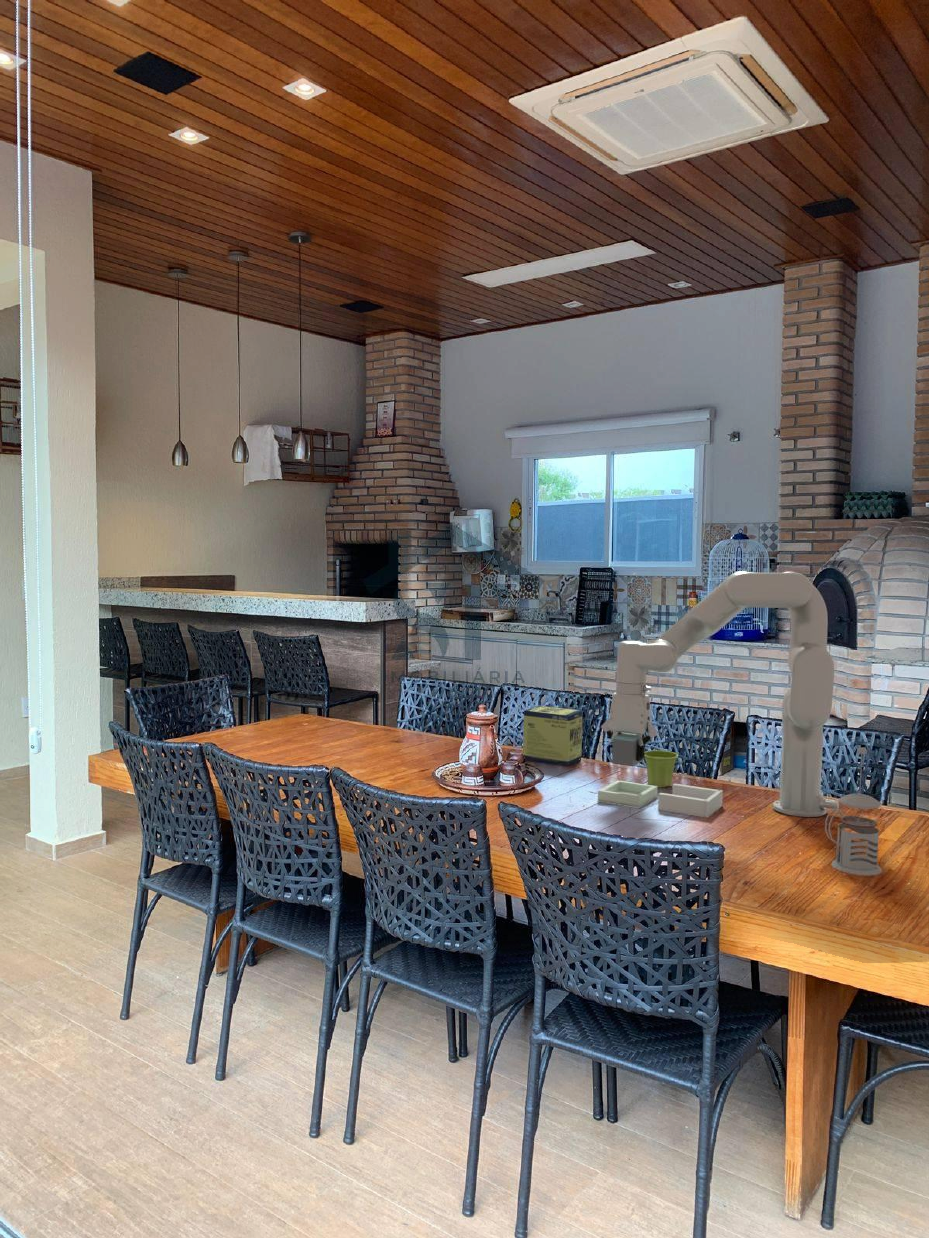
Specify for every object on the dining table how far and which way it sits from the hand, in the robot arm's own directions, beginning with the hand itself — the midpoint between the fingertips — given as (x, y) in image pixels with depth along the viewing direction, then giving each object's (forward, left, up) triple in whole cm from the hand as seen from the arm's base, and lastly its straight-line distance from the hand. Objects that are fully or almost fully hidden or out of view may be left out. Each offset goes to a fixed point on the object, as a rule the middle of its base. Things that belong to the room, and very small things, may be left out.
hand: (628, 757), depth 242 cm
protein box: (+36, -30, -11) cm, 48 cm away
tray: (0, 0, -11) cm, 11 cm away
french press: (-58, +24, -11) cm, 64 cm away
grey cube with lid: (0, 0, -1) cm, 1 cm away
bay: (-16, -1, -11) cm, 20 cm away
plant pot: (-2, -19, -11) cm, 22 cm away
